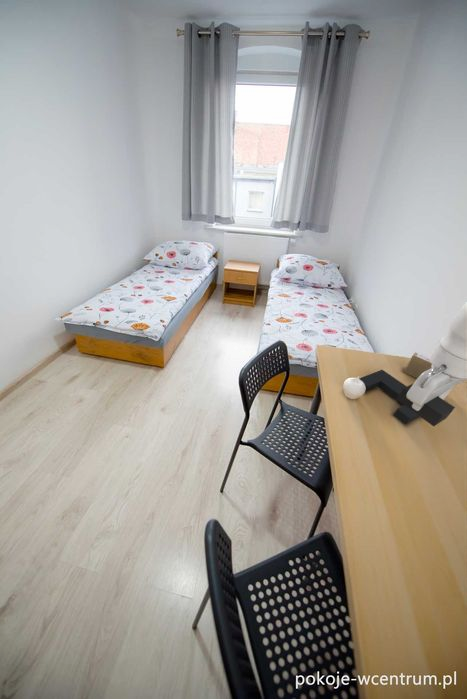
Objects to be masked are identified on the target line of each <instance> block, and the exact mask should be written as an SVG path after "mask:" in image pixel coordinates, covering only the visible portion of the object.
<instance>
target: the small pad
mask: <svg viewBox="0 0 467 699" xmlns="http://www.w3.org/2000/svg"><path fill="white" fill-rule="evenodd" d="M414 383H415V382H413V383H411V384H409V385H406V386H407V387H405V388H403V389H402V391H401V393H400V394H399V396H398V398H397V400H398V401H399V402H401V403H402V404H404V405H405V406H406V407H408V408H409V409H410V410H412V411H413V412H415V413H416V414H417V415H419V416H420V417H419V418H421V419H423V421H425V422H427V423H428V424H430V425H431V426H432V427H436V426H437V425H439V424H440V423H441V422H443V421H445V420H446V419H447V418H448V417H449V415H450V414H451V413H452V412H453V411H454V409H455V408H456V407H455V406H454V405H452V404H451V403H449V402H448V401H447V400H445V399H444V400H443V399H441V398H440V397H438V396H437V397H435V398H434V399H432V400H430V401H428V402H427V403H425V404H424V406H423V408H422V409H421V410H419V411H416V410H415V409H413V408H412V405H413V402H412V401H410V400H409V399H408V398H407V397H406V395H407V392H408V391H409V390H410V388H411V387H412V385H413V384H414Z"/></svg>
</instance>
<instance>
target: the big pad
mask: <svg viewBox="0 0 467 699" xmlns="http://www.w3.org/2000/svg"><path fill="white" fill-rule="evenodd" d="M359 379H360V380H361V381H362V382H363V383H364V384H365V387H366V390H365V393H367V392H370V391H372V390H374V389H377V388H378V389H379V390H381V391H382V392H383V393H385V395H387V396H389V397H390V398H391V399H393V400H394V401H395V402H397V404H400V405H401V406H400V407H398V408H397V409H396V410H395V412H394V413H393V417H395V418H396V419H398V421H400V422H401V423H403V424H404V425H405V426H407V425H408V424H410V423H411V422H414V421H415V420H417V419H419V418H421V417H420V416H419V415H417V414H416V413H415V412H413V411H412V410H410V409H409V408H408V407H406V406H405V405H404V404H402V403H401V402H399V401H398V400H397V398H398V396H399V394H400V393H401V391H402V389H403V388H405V387H407V386H408V385H406V384H404V383H403V382H401V381H399V380H398V379H397V378H396V377H394V376H393V375H391V374H390V373H388V372H387V371H386V370H383V369H380V370H377V371H374V372H372V373H369V374H367V375H363V376H361V377H359Z"/></svg>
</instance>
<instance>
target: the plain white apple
mask: <svg viewBox="0 0 467 699" xmlns="http://www.w3.org/2000/svg"><path fill="white" fill-rule="evenodd" d="M359 378H361V377H360V375H358V376H357V377H349V378H346V379H345V380H344V382H343V384H342V389H343V392H344V396H346V398H348V399H351V400H356V399H358V398H360V397H362V396H363V395H364V394H365V393H366V392H365V390H366V387H365V384H364V383H363V382H362V381H361V380H360V379H359Z"/></svg>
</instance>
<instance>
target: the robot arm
mask: <svg viewBox="0 0 467 699" xmlns="http://www.w3.org/2000/svg"><path fill="white" fill-rule="evenodd" d="M428 358H429V360H430V362H431V364H432V366H431V367H432V368H431V369H429V370H427V371H425V372H423V373H422V374H421V375H420V376H419V377H418V378H416V380H415V381H414V382H413V383H414V384H413V383H412V384H413V385H412V387H411V388H410V390H409V391H408V392H407V395H406V397H407V398H408V399H409V400H410V401H412V402H413V405H412V408H413V409H415V410H416V411H419V410H421V409H422V408H423V406H424V404H425V403H427V402H428V401H430V400H432V399H434V398H435V397H437V396H438V397H440V395H442V394H443V393H444V392H446V391H447V390H449V389H451V388H452V387H453V388H454V387H457V386H458V385H460V384H461V383H462V382H464V381H465V380H467V301H465V303H464V304H463V305H462V306H461V308H460V309H459V311H458V312H457V313H456V315H454V318H453V319H452V321H451V322H450V324H449V327H448V331H447V333H446V334H445V335H444V336H442V338H440V340H439V342H438V343H437V344H436V346H435V347H434V349H433V351H432V352H431V353H430V356H429V357H428ZM453 388H452V389H453ZM452 389H451V390H452Z"/></svg>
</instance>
